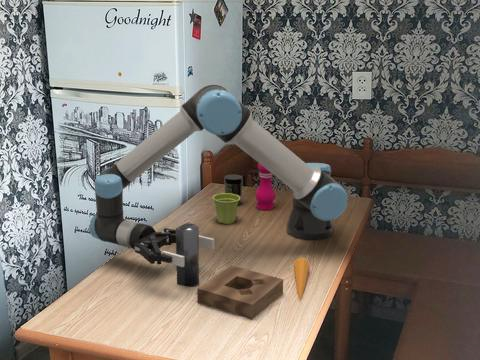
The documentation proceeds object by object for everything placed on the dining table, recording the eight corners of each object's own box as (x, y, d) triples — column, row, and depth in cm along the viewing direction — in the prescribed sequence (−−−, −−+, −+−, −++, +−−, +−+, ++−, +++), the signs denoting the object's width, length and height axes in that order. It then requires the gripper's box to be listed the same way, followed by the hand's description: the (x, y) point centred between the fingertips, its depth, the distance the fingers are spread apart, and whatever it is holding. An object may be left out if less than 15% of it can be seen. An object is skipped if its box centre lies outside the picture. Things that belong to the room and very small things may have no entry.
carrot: (296, 270, 171) (291, 257, 170) (311, 266, 170) (306, 253, 169) (294, 311, 153) (288, 297, 151) (311, 307, 152) (305, 292, 150)
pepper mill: (273, 211, 216) (274, 158, 210) (253, 210, 217) (254, 156, 211) (276, 205, 223) (277, 153, 217) (257, 203, 224) (258, 152, 218)
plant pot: (234, 215, 212) (234, 191, 209) (243, 224, 204) (244, 200, 201) (209, 218, 209) (209, 194, 206) (217, 227, 200) (217, 203, 198)
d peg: (176, 283, 160) (175, 228, 156) (187, 276, 165) (186, 222, 160) (192, 288, 158) (191, 232, 153) (202, 281, 162) (202, 226, 157)
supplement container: (239, 207, 220) (239, 180, 217) (222, 205, 222) (222, 178, 219) (244, 201, 226) (244, 175, 223) (227, 200, 228) (227, 173, 225)
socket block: (197, 302, 151) (197, 288, 150) (230, 278, 164) (231, 265, 163) (252, 319, 143) (252, 304, 142) (282, 293, 156) (283, 279, 155)
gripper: (164, 234, 179) (224, 249, 168) (106, 264, 158) (170, 283, 148) (164, 210, 177) (224, 224, 166) (104, 238, 156) (169, 255, 146)
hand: (199, 252), depth 157 cm, fingers open, 13 cm apart
